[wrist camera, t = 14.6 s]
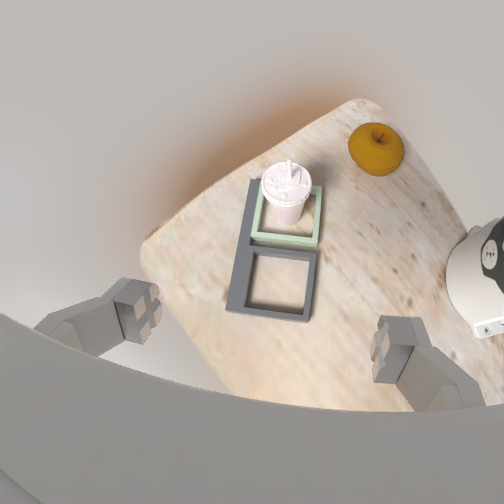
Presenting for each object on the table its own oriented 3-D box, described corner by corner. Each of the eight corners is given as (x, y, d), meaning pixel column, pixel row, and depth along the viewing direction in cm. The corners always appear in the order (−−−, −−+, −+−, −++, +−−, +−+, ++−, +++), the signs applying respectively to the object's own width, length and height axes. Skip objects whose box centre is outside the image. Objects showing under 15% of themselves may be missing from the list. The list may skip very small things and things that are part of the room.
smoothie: (317, 218, 45) (326, 163, 32) (284, 242, 44) (281, 195, 31) (290, 189, 47) (288, 130, 34) (258, 212, 46) (245, 158, 33)
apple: (335, 170, 47) (341, 135, 39) (358, 138, 49) (366, 103, 41) (382, 198, 45) (397, 166, 36) (401, 163, 46) (417, 130, 38)
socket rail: (321, 190, 46) (322, 186, 45) (307, 323, 40) (308, 321, 38) (251, 184, 48) (250, 179, 47) (227, 311, 42) (225, 310, 40)
